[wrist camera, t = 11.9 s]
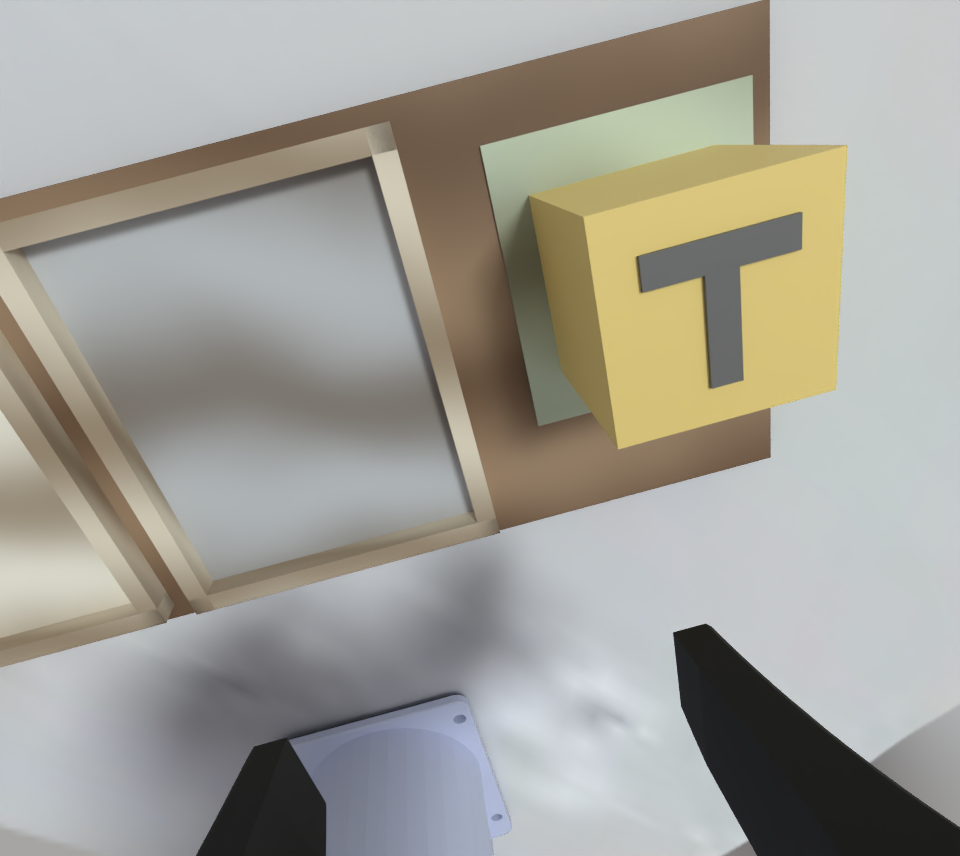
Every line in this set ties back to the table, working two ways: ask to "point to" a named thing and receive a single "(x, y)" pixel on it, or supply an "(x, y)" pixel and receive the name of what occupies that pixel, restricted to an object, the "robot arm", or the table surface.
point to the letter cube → (696, 284)
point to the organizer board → (329, 339)
